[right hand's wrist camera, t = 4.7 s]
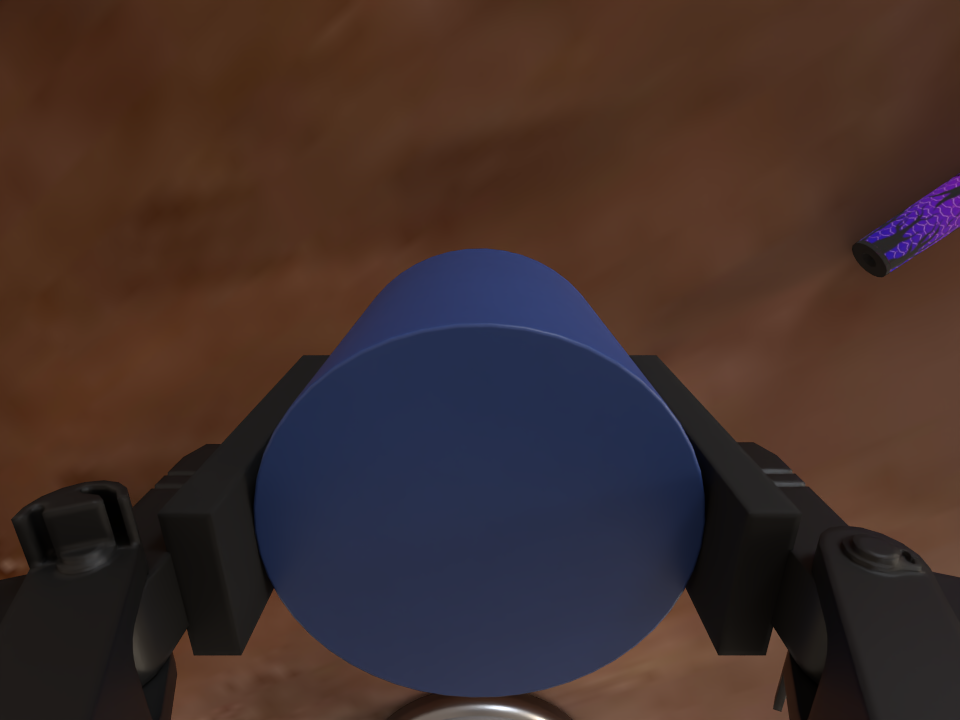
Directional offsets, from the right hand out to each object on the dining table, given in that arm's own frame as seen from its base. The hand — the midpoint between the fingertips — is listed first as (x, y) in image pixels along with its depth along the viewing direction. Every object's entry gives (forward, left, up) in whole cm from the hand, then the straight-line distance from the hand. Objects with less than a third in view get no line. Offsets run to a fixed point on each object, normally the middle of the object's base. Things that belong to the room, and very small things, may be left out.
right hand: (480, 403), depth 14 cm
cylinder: (0, 0, -2) cm, 2 cm away
